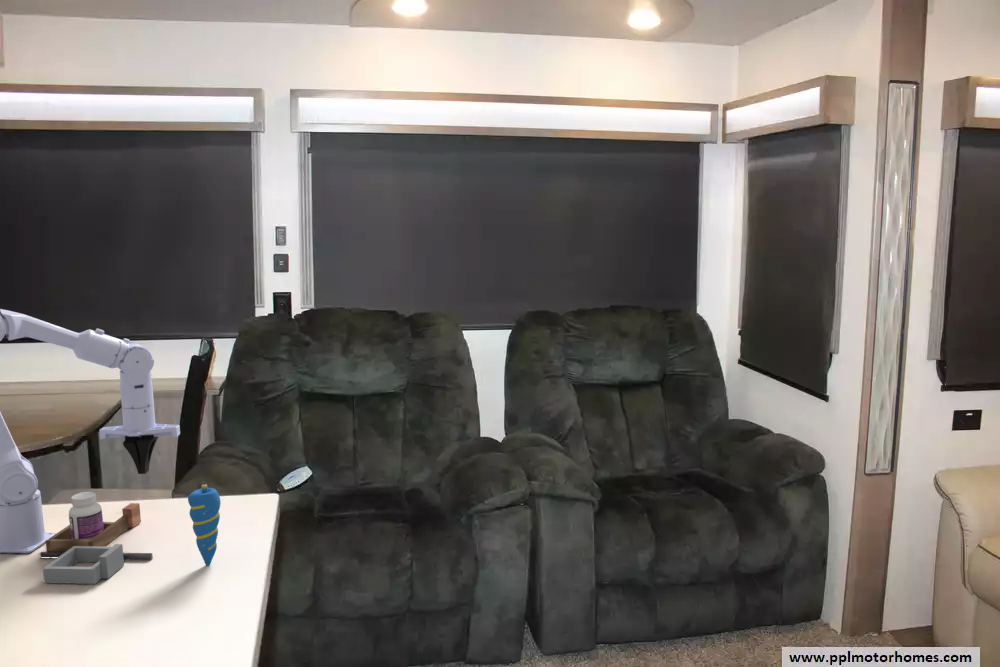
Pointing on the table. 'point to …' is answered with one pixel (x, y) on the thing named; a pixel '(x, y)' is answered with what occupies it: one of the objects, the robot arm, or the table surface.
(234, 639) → the table surface
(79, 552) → the gray rectangular frame
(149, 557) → the rail
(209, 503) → the ornament
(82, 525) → the pill bottle
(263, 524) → the table surface
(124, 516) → the frame
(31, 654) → the table surface
